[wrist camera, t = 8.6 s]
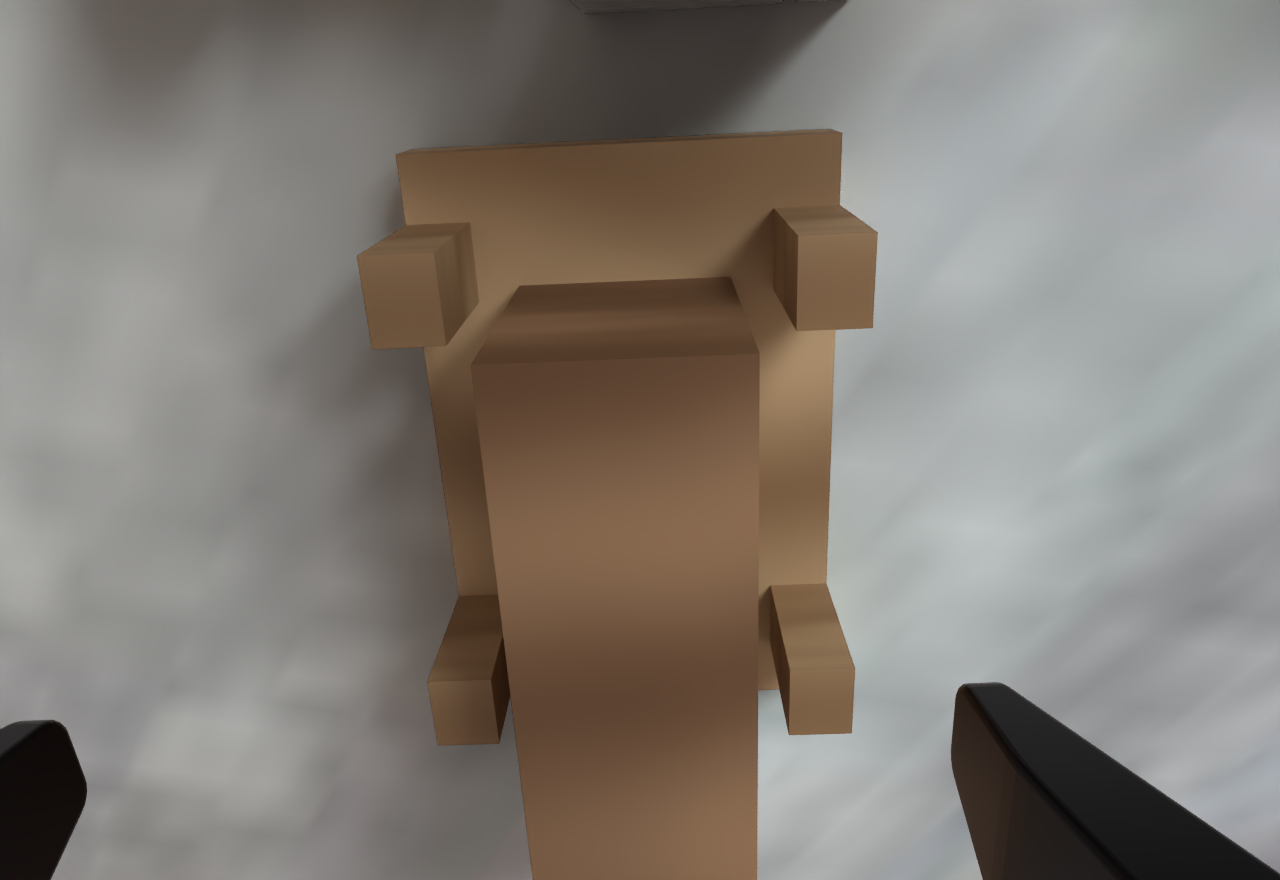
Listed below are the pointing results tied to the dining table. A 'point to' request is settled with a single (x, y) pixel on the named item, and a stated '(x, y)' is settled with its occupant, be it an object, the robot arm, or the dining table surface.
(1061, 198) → the dining table surface
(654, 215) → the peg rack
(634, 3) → the keeper
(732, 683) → the walnut bar
